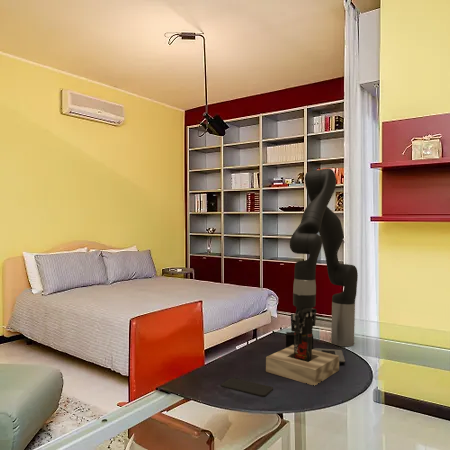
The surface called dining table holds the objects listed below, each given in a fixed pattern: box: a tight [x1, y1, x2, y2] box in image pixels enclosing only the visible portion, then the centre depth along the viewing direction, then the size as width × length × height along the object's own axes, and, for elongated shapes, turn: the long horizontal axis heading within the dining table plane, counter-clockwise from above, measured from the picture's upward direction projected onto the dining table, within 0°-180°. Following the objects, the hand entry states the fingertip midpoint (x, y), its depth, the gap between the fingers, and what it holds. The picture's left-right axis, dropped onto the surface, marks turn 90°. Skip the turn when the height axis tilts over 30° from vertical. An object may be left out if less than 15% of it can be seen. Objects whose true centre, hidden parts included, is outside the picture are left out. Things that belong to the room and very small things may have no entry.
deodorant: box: [294, 317, 314, 362], centre depth 141 cm, size 6×6×15 cm
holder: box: [265, 345, 340, 387], centre depth 141 cm, size 18×18×5 cm
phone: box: [220, 377, 274, 398], centre depth 126 cm, size 7×1×15 cm
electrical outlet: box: [313, 347, 346, 364], centre depth 154 cm, size 13×10×2 cm
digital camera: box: [285, 331, 314, 350], centre depth 162 cm, size 10×5×7 cm, turn 81°
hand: (303, 341), depth 141 cm, fingers closed on deodorant, 6 cm apart
